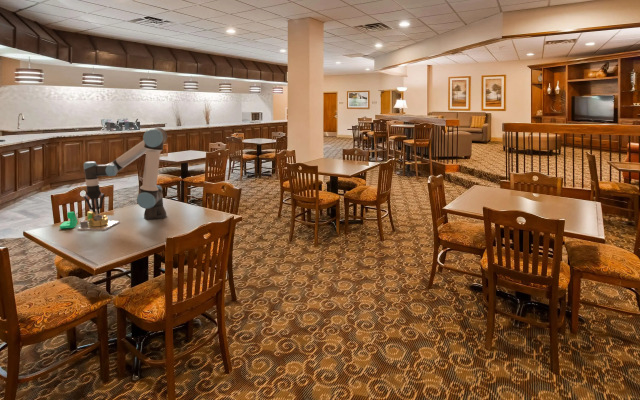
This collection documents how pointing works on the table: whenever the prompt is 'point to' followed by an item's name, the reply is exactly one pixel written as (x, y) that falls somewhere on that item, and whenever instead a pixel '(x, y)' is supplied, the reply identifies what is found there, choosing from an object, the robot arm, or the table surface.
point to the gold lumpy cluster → (96, 222)
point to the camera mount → (72, 221)
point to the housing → (86, 226)
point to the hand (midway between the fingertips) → (97, 218)
